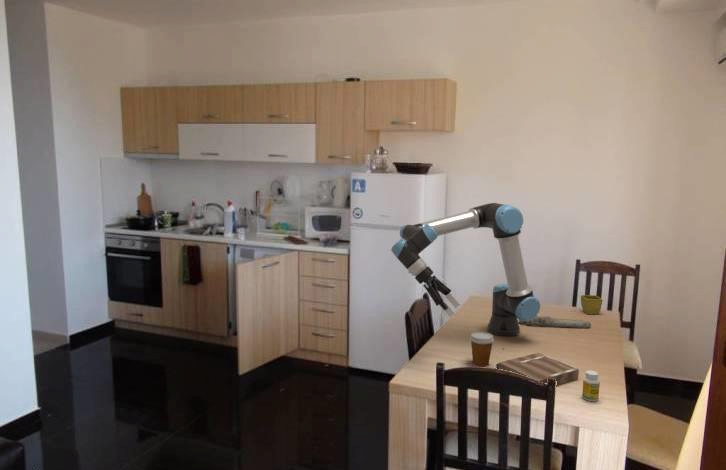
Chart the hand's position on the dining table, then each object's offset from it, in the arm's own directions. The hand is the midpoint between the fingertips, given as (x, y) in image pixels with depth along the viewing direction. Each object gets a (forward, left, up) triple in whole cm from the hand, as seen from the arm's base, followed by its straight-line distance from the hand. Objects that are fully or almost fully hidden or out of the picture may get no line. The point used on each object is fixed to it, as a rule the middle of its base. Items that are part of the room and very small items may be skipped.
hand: (455, 310), depth 222 cm
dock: (-18, +28, -21) cm, 40 cm away
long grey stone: (-75, -13, -22) cm, 80 cm away
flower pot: (-109, -18, -22) cm, 113 cm away
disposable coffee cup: (-7, +8, -22) cm, 24 cm away
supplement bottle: (-19, +51, -22) cm, 59 cm away
